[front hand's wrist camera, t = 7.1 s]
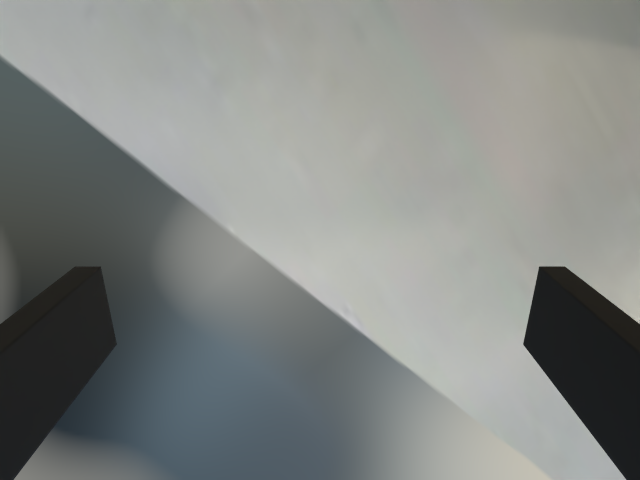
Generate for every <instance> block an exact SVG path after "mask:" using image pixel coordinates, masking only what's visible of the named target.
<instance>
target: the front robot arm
mask: <svg viewBox="0 0 640 480" xmlns="http://www.w3.org/2000/svg"><path fill="white" fill-rule="evenodd" d="M116 344H117V343H116V339H115V334H114V329H113V324H112V319H111V314H110V310H109V305H108V300H107V295H106V290H105V285H104V280H103V276H102V271H101V267H74V268H73V269H71V270H70V271H69V272H67V273H66V274H65V275H64V276H62V277H61V278H60V279H58V280H57V281H56V282H54V283H53V284H52V285H51V286H49V287H48V288H47V289H45V290H44V291H43V292H42V293H40V294H39V295H38V296H36V297H35V298H34V299H32V300H31V301H30V302H29V303H27V304H26V305H25V306H23V307H22V308H21V309H19V310H18V311H17V312H16V313H14V314H13V315H12V316H10V317H9V318H8V319H7V320H5V321H4V322H3V323H1V324H0V480H14V478H15V477H16V476H17V474H18V473H19V472H20V470H21V469H22V468H23V466H24V465H25V464H26V463H27V461H28V460H29V459H30V457H31V456H32V455H33V453H34V452H35V451H36V449H37V448H38V447H39V446H40V444H41V443H42V442H43V440H44V439H45V438H46V436H47V435H48V434H49V432H50V431H51V430H52V429H53V427H54V426H55V425H56V423H57V422H58V421H59V419H60V418H61V417H62V415H63V414H64V413H65V411H66V410H67V409H68V407H69V406H70V405H71V404H72V402H73V401H74V400H75V398H76V397H77V396H78V394H79V393H80V392H81V390H82V389H83V388H84V387H85V385H86V384H87V383H88V381H89V380H90V379H91V377H92V376H93V375H94V373H95V372H96V371H97V370H98V368H99V367H100V366H101V364H102V363H103V362H104V360H105V359H106V358H107V356H108V355H109V354H110V353H111V351H112V350H113V349H114V347H115V346H116ZM523 345H524V346H525V347H526V349H527V350H528V351H529V353H530V354H531V355H532V356H533V358H534V359H535V360H536V362H537V363H538V364H539V366H540V367H541V368H542V370H543V371H544V372H545V373H546V375H547V376H548V377H549V379H550V380H551V381H552V383H553V384H554V385H555V387H556V388H557V389H558V391H559V392H560V393H561V394H562V396H563V397H564V398H565V400H566V401H567V402H568V404H569V405H570V406H571V408H572V409H573V410H574V411H575V413H576V414H577V415H578V417H579V418H580V419H581V421H582V422H583V423H584V425H585V426H586V427H587V429H588V430H589V431H590V432H591V434H592V435H593V436H594V438H595V439H596V440H597V442H598V443H599V444H600V446H601V447H602V448H603V450H604V451H605V452H606V453H607V455H608V456H609V457H610V459H611V460H612V461H613V463H614V464H615V465H616V467H617V468H618V469H619V470H620V472H621V473H622V474H623V476H624V477H625V478H626V480H640V324H639V323H637V322H636V321H635V320H634V319H632V318H631V317H630V316H628V315H627V314H626V313H624V312H623V311H622V310H621V309H619V308H618V307H617V306H615V305H614V304H613V303H611V302H610V301H609V300H608V299H606V298H605V297H604V296H602V295H601V294H600V293H598V292H597V291H596V290H595V289H593V288H592V287H591V286H589V285H588V284H587V283H586V282H584V281H583V280H582V279H580V278H579V277H578V276H576V275H575V274H574V273H573V272H571V271H570V270H569V269H567V268H566V267H539V271H538V276H537V280H536V285H535V290H534V295H533V300H532V305H531V310H530V314H529V319H528V324H527V329H526V334H525V339H524V343H523Z"/></svg>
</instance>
